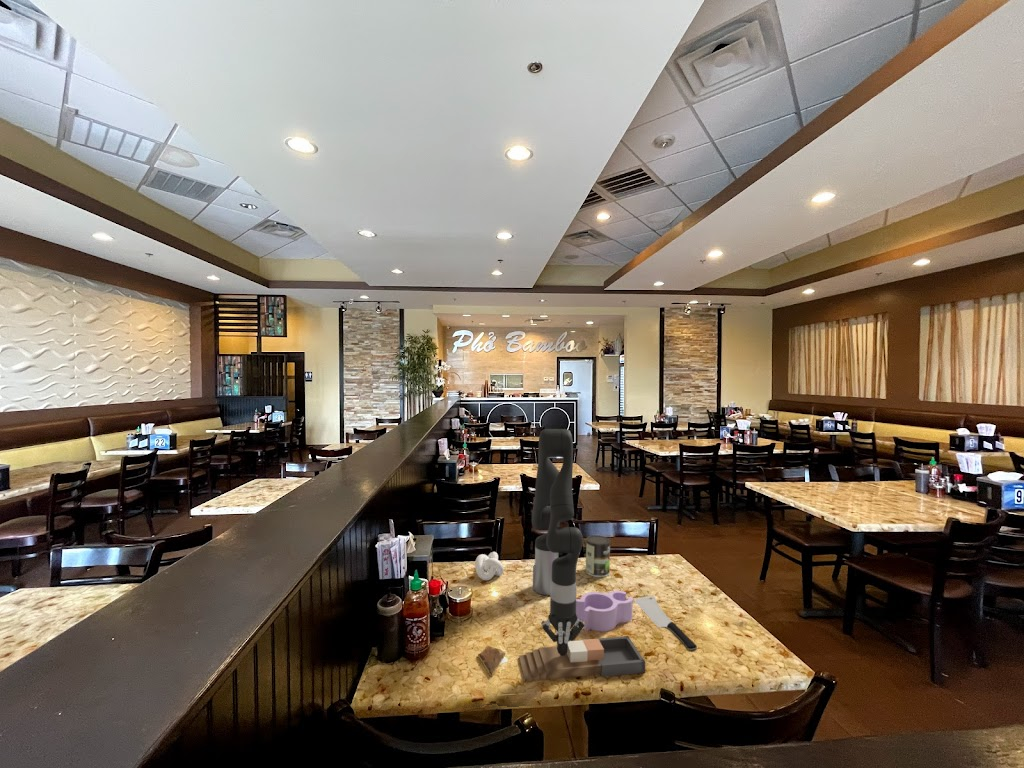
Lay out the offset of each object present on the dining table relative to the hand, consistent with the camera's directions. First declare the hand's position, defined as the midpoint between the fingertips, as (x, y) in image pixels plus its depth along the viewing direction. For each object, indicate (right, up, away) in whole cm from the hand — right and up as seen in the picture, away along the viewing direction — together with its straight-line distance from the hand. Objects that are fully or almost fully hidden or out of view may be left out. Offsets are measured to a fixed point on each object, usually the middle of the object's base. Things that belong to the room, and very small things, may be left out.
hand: (562, 653), depth 126 cm
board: (+2, -4, 0) cm, 4 cm away
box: (+16, -4, +2) cm, 16 cm away
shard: (-20, -4, +2) cm, 20 cm away
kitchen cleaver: (+37, -4, +23) cm, 44 cm away
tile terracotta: (+9, -1, +1) cm, 9 cm away
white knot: (-24, -2, +56) cm, 61 cm away
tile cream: (+4, -1, +1) cm, 4 cm away
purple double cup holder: (+18, -3, +24) cm, 30 cm away
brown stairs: (-9, -4, -1) cm, 10 cm away
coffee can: (+22, -2, +60) cm, 64 cm away
